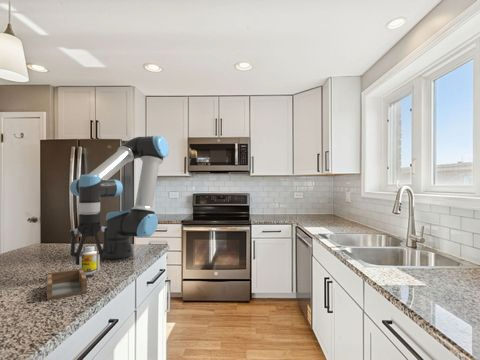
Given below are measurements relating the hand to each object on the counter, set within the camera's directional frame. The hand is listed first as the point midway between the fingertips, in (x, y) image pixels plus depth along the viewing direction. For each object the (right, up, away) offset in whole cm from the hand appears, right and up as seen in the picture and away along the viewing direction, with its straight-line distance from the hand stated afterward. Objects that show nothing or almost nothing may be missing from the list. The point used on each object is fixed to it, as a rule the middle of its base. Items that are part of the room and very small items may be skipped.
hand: (89, 271), depth 111 cm
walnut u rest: (0, -2, -15) cm, 15 cm away
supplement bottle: (0, -1, 0) cm, 1 cm away
